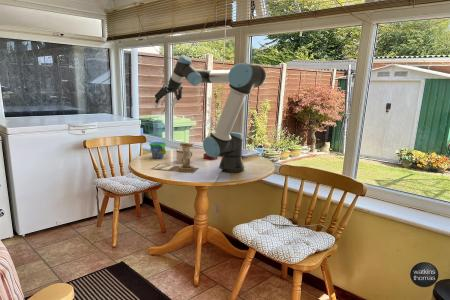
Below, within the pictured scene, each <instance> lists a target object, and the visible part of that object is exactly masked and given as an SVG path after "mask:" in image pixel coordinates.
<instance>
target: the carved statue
mask: <svg viewBox="0 0 450 300" xmlns="http://www.w3.org/2000/svg"><path fill="white" fill-rule="evenodd" d="M179 146H180V147H182V146H183V163H182V165H183V168H190V165H191V158H190V155H191V153H190V151H191V148H193V146H194V143H187V142H186V143H185V142H181V143H179Z"/></svg>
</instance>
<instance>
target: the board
mask: <svg viewBox="0 0 450 300" xmlns="http://www.w3.org/2000/svg"><path fill="white" fill-rule="evenodd" d="M199 169H200V168H199V167H195V166H194V165H191V164H190V168H183V164H182V165H178V166H177V165H168V164H161V163H160V164H157V165H155V166H153V167H151V168H150V171H151V170H152V171H153V170H154V171H164V172H175V173H187V174H194V173H196V171H198V170H199Z"/></svg>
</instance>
